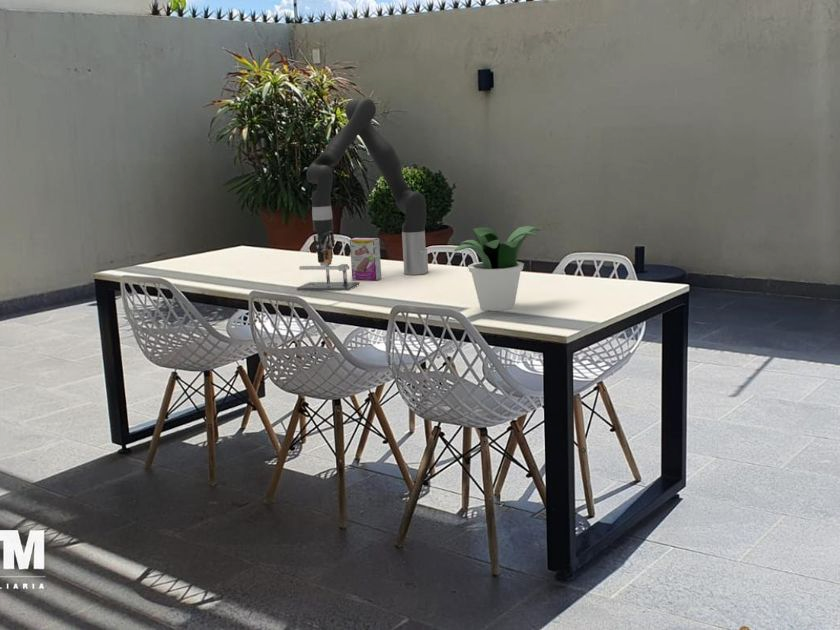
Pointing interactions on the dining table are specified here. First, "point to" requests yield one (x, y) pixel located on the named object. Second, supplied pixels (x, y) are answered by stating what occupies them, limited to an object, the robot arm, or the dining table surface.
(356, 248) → the candy bar box
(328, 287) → the bolt plate
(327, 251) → the block
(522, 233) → the potted plant
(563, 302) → the dining table surface
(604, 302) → the dining table surface
